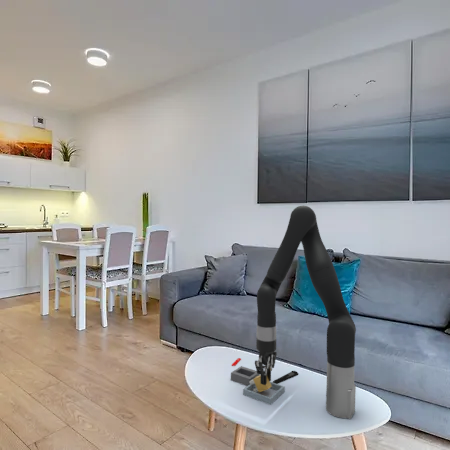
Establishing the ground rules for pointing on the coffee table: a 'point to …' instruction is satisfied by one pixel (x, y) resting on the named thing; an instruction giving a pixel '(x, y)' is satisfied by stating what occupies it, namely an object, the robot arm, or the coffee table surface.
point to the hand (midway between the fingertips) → (265, 382)
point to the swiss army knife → (236, 362)
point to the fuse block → (243, 375)
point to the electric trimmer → (286, 377)
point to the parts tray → (263, 398)
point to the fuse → (258, 384)
